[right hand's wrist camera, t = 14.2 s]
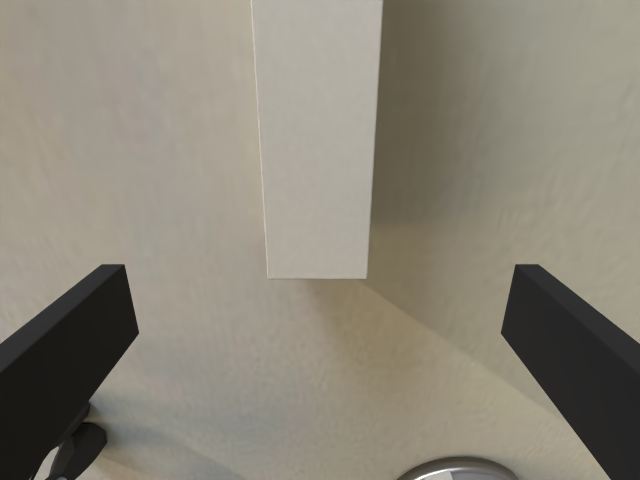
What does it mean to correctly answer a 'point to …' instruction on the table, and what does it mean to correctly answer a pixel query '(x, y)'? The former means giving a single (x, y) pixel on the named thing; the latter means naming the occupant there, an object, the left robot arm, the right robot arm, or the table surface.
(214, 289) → the table surface
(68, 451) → the robot
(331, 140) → the bar
